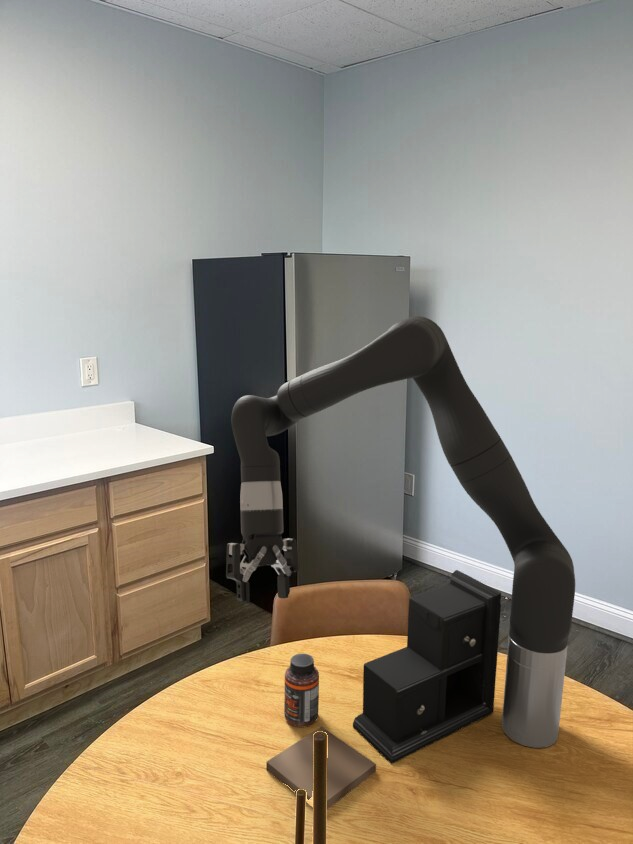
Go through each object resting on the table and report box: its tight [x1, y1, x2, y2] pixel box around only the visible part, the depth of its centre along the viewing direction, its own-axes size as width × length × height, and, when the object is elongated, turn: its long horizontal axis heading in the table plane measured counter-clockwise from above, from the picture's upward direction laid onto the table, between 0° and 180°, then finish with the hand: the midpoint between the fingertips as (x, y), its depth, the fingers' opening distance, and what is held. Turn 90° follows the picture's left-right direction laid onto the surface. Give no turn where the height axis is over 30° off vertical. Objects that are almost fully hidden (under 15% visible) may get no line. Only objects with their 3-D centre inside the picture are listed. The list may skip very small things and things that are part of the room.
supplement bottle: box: [283, 652, 320, 728], centre depth 115 cm, size 6×6×11 cm
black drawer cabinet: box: [352, 569, 502, 765], centre depth 113 cm, size 23×11×24 cm, turn 123°
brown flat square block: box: [265, 726, 377, 810], centre depth 103 cm, size 12×12×2 cm
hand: (264, 600), depth 117 cm, fingers open, 8 cm apart
